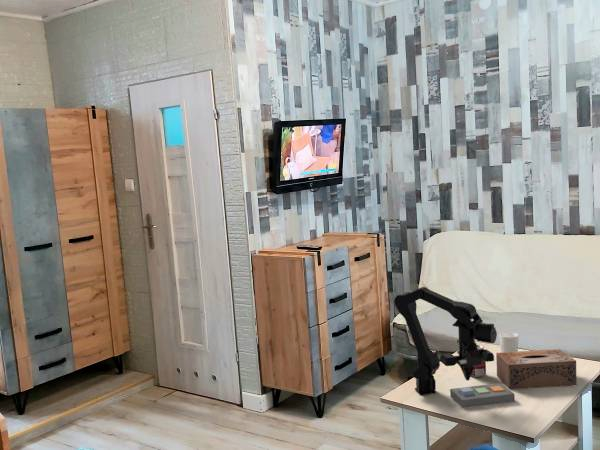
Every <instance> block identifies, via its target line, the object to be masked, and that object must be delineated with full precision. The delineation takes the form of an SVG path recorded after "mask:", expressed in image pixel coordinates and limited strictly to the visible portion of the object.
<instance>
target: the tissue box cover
mask: <svg viewBox="0 0 600 450" xmlns="http://www.w3.org/2000/svg"><path fill="white" fill-rule="evenodd" d="M495 355H496V377H497V378H498V379H499V380H500V381H501V382H502V383H503V385H505V387H506V388H507V389H509V390H523V389H524V390H525V389H539V388H556V387H557V388H558V387H572V386H573V387H574V385H576V386H577V384H578V383H577V360H576V359H574V358H573V357H572V356H570V355H569V354H567V353H566V352H565V351H563V350H561V349H560V348H557V349H555V348H553V349H539V350H524V351H518V352H502V353H501V352H496V353H495Z"/></svg>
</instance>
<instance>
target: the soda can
mask: <svg viewBox="0 0 600 450" xmlns="http://www.w3.org/2000/svg"><path fill="white" fill-rule="evenodd" d="M476 345H477V349H478V350H484V349H485V348H484V345H480V344H476ZM486 364H487V362H486V361H485V360H482V364H481V365H476V366H475V367H474V369H473V371H472V374H471V376H470V377H473V378H483V377H485V376H486V375H487V365H486Z"/></svg>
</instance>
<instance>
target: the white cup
mask: <svg viewBox="0 0 600 450" xmlns="http://www.w3.org/2000/svg"><path fill="white" fill-rule="evenodd" d="M499 345H500V347H499V348H500V353H502V352H519V334H518V333H516V332H510V331H504V332H500V333H499Z"/></svg>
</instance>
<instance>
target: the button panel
mask: <svg viewBox="0 0 600 450" xmlns="http://www.w3.org/2000/svg"><path fill="white" fill-rule="evenodd" d="M493 386H500V387H502V388H503V389H504V390H505V391H502V392H493V391H491V390H490V389H489V387H493ZM469 387H470V388H471V389H472V390H474V389H477V388H485V389H487V390H488V391H489V393H486V394H478V393H476V392H475V391H474V395H469V396H462V395H461V394H460V393H459V388H460V387H454V388H450V389H449V394H450V396H449V397H450V398H451V399H452V400H453V401H455V403H456V404H458V406H459V407H461V408H462V409H467V408H473V407H474V408H475V407H481V406H482V407H483V406H490V405H496V404H497V405H498V404H506V403H514V402H516V401H515V399H516V398H515V392H513V391H511V389H508V387H507V386H506V385H505V386H504V384H502V383H500V382H497V383H490V384H489V383H488V384H481V385H472V386H469Z"/></svg>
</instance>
